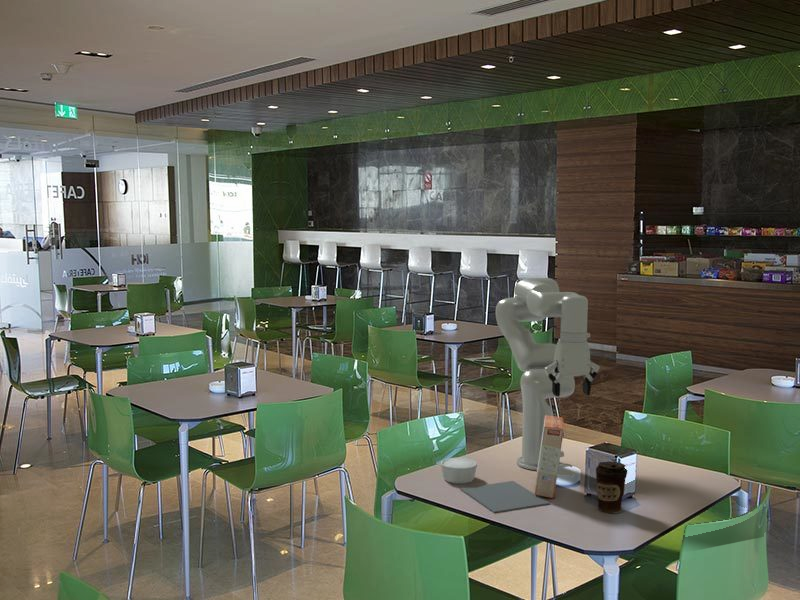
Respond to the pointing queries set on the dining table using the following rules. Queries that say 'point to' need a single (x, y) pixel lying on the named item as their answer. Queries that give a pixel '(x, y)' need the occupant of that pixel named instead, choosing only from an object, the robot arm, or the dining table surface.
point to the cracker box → (549, 456)
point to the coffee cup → (610, 486)
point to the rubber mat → (504, 496)
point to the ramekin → (458, 470)
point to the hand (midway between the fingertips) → (571, 394)
